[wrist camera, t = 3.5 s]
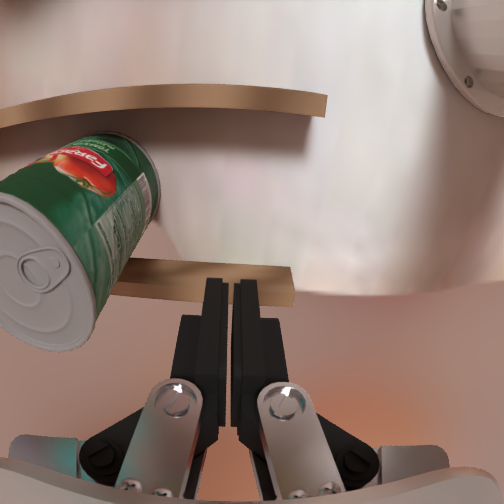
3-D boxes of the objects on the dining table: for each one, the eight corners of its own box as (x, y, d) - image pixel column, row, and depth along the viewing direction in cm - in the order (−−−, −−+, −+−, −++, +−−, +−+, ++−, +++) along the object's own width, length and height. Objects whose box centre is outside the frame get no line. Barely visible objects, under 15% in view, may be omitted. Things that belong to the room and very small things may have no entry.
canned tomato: (94, 252, 21) (26, 360, 12) (44, 164, 18) (-63, 240, 8) (181, 215, 20) (133, 338, 11) (129, 109, 16) (14, 153, 7)
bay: (314, 92, 16) (345, 99, 11) (287, 280, 23) (298, 339, 18) (-48, 126, 14) (-95, 147, 9) (-21, 256, 21) (-54, 291, 16)
